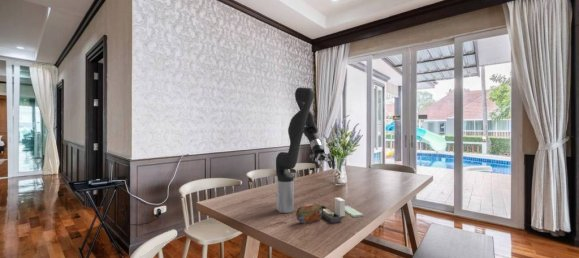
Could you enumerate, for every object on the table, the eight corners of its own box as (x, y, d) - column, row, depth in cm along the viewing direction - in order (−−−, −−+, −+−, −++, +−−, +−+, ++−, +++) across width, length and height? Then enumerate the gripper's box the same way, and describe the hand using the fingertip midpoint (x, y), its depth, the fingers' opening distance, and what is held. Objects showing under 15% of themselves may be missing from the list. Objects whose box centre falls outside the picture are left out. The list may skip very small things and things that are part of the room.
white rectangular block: (340, 216, 131) (340, 200, 131) (334, 213, 137) (334, 197, 137) (345, 216, 132) (345, 200, 132) (339, 212, 138) (339, 197, 138)
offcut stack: (329, 220, 127) (329, 214, 127) (321, 213, 136) (321, 208, 136) (334, 219, 128) (334, 213, 128) (326, 213, 137) (326, 207, 137)
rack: (331, 223, 122) (331, 218, 122) (315, 210, 141) (315, 206, 141) (341, 222, 124) (341, 217, 124) (323, 209, 142) (324, 205, 142)
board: (354, 217, 130) (354, 215, 130) (339, 207, 146) (339, 206, 146) (363, 216, 132) (363, 214, 132) (347, 207, 147) (347, 205, 147)
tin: (298, 225, 120) (298, 207, 120) (295, 222, 123) (295, 205, 123) (323, 219, 127) (323, 203, 127) (320, 217, 129) (320, 201, 129)
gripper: (308, 144, 158) (316, 164, 147) (328, 143, 163) (337, 163, 152) (305, 151, 163) (312, 171, 152) (324, 151, 168) (332, 170, 157)
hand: (324, 167), depth 152 cm, fingers open, 8 cm apart
